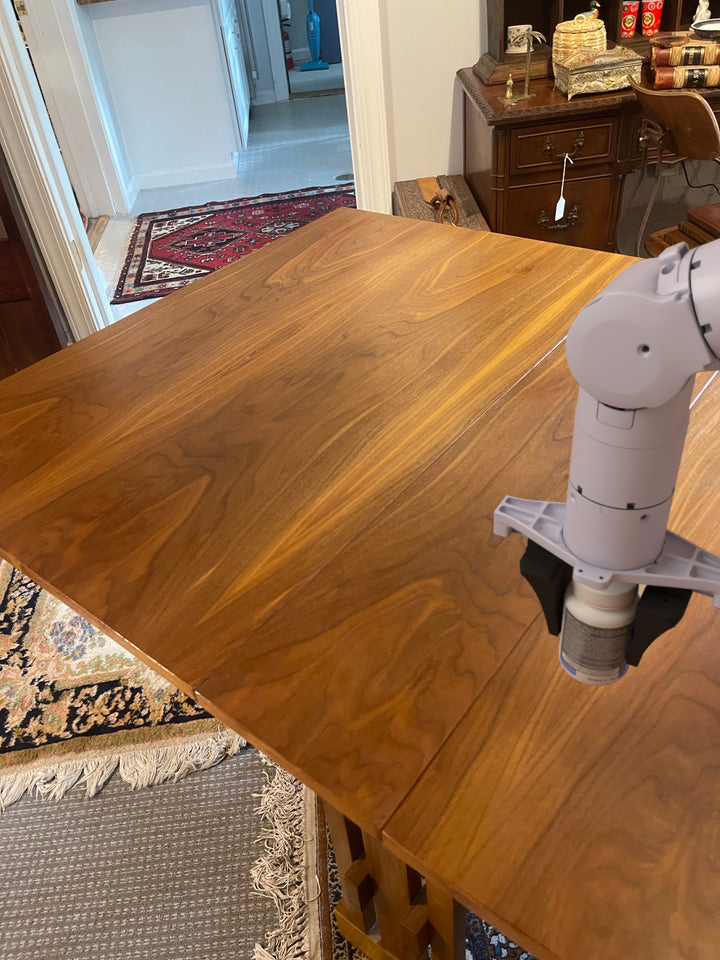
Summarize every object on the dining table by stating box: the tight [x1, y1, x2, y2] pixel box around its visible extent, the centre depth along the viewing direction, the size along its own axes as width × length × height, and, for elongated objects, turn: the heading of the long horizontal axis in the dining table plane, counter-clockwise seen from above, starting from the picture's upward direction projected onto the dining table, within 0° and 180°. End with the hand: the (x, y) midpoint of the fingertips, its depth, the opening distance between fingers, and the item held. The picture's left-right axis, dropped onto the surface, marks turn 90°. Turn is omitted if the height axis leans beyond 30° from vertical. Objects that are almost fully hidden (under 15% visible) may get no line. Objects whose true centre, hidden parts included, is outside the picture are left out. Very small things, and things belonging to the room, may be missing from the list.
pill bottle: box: [558, 569, 640, 687], centre depth 48 cm, size 5×5×8 cm
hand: (595, 639), depth 50 cm, fingers closed on pill bottle, 5 cm apart
